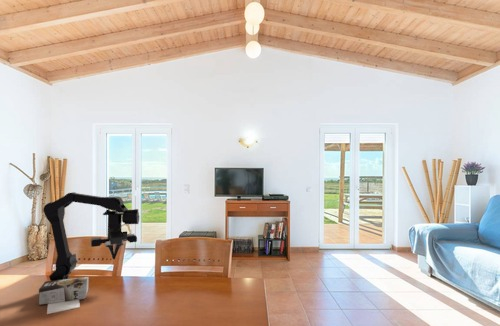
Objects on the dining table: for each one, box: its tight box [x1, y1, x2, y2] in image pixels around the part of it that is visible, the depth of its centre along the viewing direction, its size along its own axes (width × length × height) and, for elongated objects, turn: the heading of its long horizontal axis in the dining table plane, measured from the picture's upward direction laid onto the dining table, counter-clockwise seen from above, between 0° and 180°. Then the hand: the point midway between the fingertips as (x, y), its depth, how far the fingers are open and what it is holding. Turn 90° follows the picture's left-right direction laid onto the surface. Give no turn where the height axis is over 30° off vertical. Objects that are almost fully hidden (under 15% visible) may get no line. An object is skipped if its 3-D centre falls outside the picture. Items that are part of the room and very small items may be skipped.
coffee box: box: [38, 276, 89, 306], centre depth 120 cm, size 9×6×16 cm
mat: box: [46, 300, 81, 315], centre depth 115 cm, size 14×10×1 cm
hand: (113, 259), depth 132 cm, fingers closed
